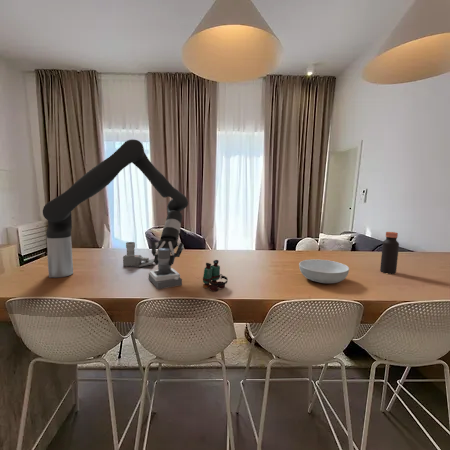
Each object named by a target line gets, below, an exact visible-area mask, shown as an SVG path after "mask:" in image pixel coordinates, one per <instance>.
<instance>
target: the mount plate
mask: <svg viewBox="0 0 450 450" xmlns="http://www.w3.org/2000/svg"><path fill="white" fill-rule="evenodd" d="M148 280H149V281H150V282H151V283H152V284H153V286H155V288H156V289H157V290H161V289H166V288H172V287H179V286H182V285H183V279H182V278H181V273H179V272H178V271H177V270H176V269H174V268H172V267H171V273H170V274H168V275H160V274H158V269H156V270H149V272H148Z"/></svg>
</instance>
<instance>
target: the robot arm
mask: <svg viewBox="0 0 450 450" xmlns="http://www.w3.org/2000/svg"><path fill="white" fill-rule="evenodd" d="M146 154H147V153H146V152H145V147H144V145H143V143H142V142H141V141H140V140H138V139H135V138H134V139H133V138H131V139H127V140H126V141H125V142H123V144H121V146H120V147H119V148H117V149H116V150H115V151H114V152H113V153H112V154H111V155H110V156H108V157H107V158H106V159H105V160H102V161H101V162H100V163H98V164H96V165H95V166H94V167H93V168H91V169H90V170H89V171H87V172H86V173H84V174H83V175H82V176H81V177H80V178H78V179H77V181H76V182H74V183H73V184H72V185H70V187H69V188H68V189H67V190H65V191H64V192H63V193H61V194H59V195H58V196H56V197H55V198H53V199H52V200H50V201H48V202H47V203H46V204H44V206H43V207H42V216H43V217H44V219H45V220H47V229H46V232H45V233H46V245H47V268H48V269H47V270H48V272H47V273H48V278H65V277H68V276H71V275H73V274H74V263H73V245H72V244H73V243H72V242H73V241H72V228H73V226H72V224H73V223H72V222H73V221H72V211H73V210H74V209H76V207H78V206H79V205H80V204H81V203H83V202H85V201H86V200H88V199H90V198H92V197H94V196H95V195H97V194H99V192H101V191H102V190H103V189H105V188H106V187H107V186H109V185H110V184H111V182H113V180H114V179H115V178H116V177H117V176H118V175H119V173H120V172H121V171H123V169H125V168H126V167H128V166H129V165H130V164H133V165H134V166H135V167H136V168H137V169H139V171H140V172H141V173H142V174H143V175H144V176H145V178H146V179H147V181H149V182H150V184H151V185H152V187H153V188H154V189H155V190H156V191H157V192H158V194H159V195H160V196H161V197H162V198H168V197H170V198H171V200H169V201H168V203H167V206H166V210H167V211H166V213H167V215H166V218H165V223H164V225H163V228H162V232H161V235H160V240H159V241H158V242H157V241H156V242H155V241H152V242H151V254H152V256H153V257H154V258H153V259H154V262H153V264H155V266H158V249H160V248H169V249H171V256H170V260H169V265H170V266H173V265H174V263H175V259H176V258H180V256H181V254H182V252H183V250H184V248H185V247H184V246H185V245H184V243H183V242H178V241H179V238H180V233H181V227H182V226H181V225H182V221H183V215H182V213H181V212H182V211H183V210H184V209H186V208H187V207H188V205H189V200H188V198H187V197H186V195H184V194H183V193H182V192H181V191H179V190H178V189H177V188H175V187H174V186H173V185H172V184H171V182H170V181H169V180H168V179H167V177H166V176H165V175H164V174H162V173H161V172H160V170H158V168H157V167H156V166H155V165H154V164H153V163H152V162H151V161H150V158H148V155H146ZM158 246H159V247H158ZM157 248H158V249H157ZM176 248H177V249H176ZM175 249H176V252H175Z"/></svg>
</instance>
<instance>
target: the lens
mask: <svg viewBox="0 0 450 450" xmlns="http://www.w3.org/2000/svg"><path fill="white" fill-rule="evenodd" d="M157 250H158V265H157V270H158V274H160V275H168V274H170V273H171V268H172V267H171V266H170V265H169V260H170V256H171V249H169V248H160V249H157Z"/></svg>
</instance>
